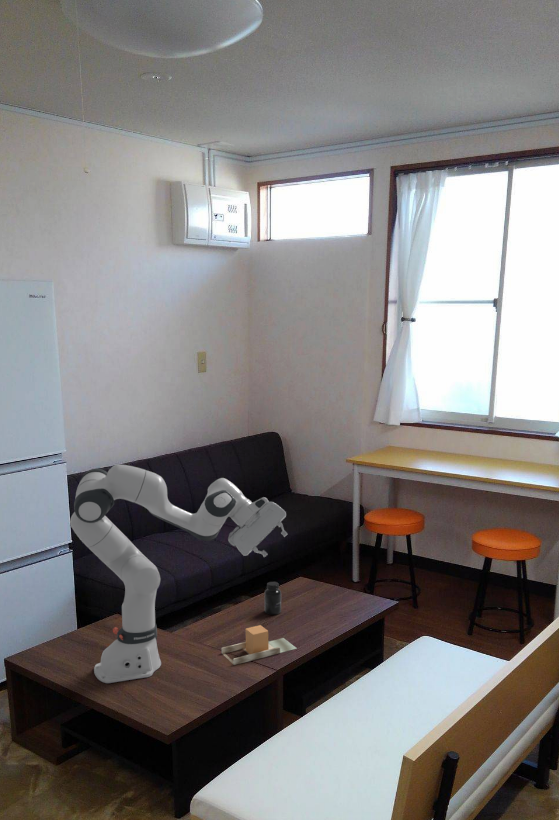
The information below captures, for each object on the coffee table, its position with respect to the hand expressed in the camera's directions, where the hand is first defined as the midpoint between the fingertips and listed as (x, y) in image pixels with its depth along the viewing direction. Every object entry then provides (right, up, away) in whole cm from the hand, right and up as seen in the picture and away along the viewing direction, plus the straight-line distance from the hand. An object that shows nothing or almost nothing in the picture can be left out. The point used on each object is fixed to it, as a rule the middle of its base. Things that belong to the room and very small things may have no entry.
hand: (276, 545), depth 235 cm
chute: (-6, -42, +15) cm, 45 cm away
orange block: (-7, -40, +15) cm, 44 cm away
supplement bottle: (-2, -38, +54) cm, 66 cm away
